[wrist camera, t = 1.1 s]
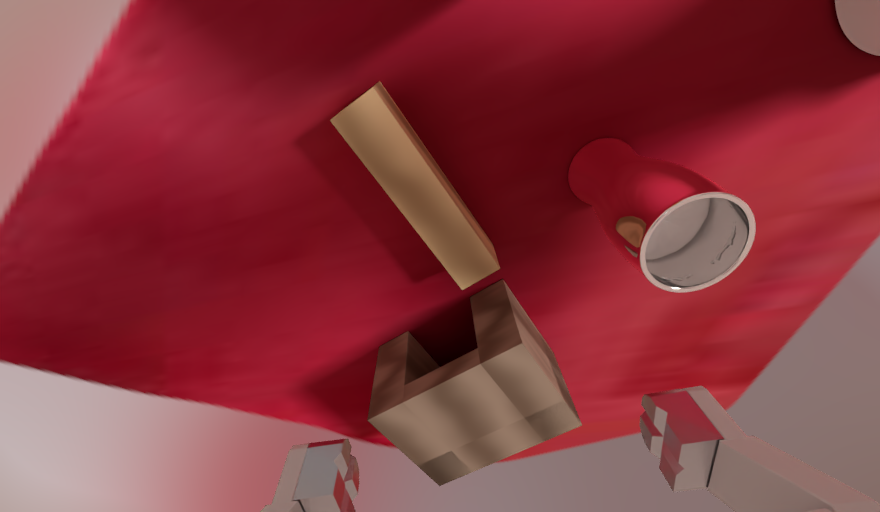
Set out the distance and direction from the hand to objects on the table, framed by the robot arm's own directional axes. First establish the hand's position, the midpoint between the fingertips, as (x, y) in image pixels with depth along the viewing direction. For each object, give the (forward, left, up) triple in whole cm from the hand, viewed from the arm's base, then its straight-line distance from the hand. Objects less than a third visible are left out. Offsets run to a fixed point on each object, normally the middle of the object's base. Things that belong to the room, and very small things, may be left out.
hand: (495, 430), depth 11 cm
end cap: (+10, +19, -28) cm, 36 cm away
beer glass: (-11, +8, -28) cm, 32 cm away
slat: (+3, 0, -28) cm, 29 cm away
